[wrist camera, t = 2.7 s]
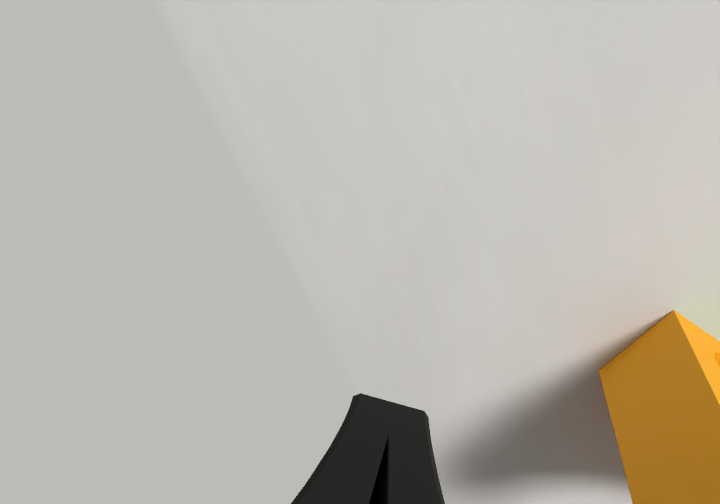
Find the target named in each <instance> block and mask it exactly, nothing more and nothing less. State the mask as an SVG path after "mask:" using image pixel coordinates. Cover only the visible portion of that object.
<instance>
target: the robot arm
mask: <svg viewBox="0 0 720 504" xmlns="http://www.w3.org/2000/svg"><path fill="white" fill-rule="evenodd" d="M291 504H445V502H444V499H443V495H442V491H441V487H440V483H439V478H438V474H437V469H436V464H435V460H434V454H433V449H432V443H431V437H430V429H429V420H428V416H427V415H426V413H425V412H424V411H422V410H418V409H415V408H411V407H407V406H404V405H400V404H397V403H393V402H389V401H386V400H382V399H379V398H375V397H371V396H368V395H364V394H361V393H360V394H358V395H355V396H353V399H352V402H351V405H350V408H349V411H348V413H347V415H346V417H345V420H344V422H343V424H342V426H341V428H340V430H339V432H338V433H337V435H336V437H335V439H334V440H333V442H332V444H331V446H330V447H329V449H328V451H327V452H326V454H325V455H324V457H323V459H322V460H321V461H320V463H319V465H318V466H317V468H316V469H315V471H314V472H313V474H312V475H311V477H310V478H309V480H308V481H307V483H306V484H305V486H304V487H303V489H302V490H301V491H300V492H299V494H298V495H297V496H296V498H295V499H294V500H293V502H292V503H291Z"/></svg>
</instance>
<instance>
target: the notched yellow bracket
mask: <svg viewBox="0 0 720 504" xmlns="http://www.w3.org/2000/svg"><path fill="white" fill-rule="evenodd" d="M599 374H600V378H601V382H602V386H603V390H604V393H605V397H606V401H607V405H608V409H609V413H610V417H611V420H612V424H613V428H614V432H615V436H616V440H617V444H618V447H619V451H620V455H621V459H622V463H623V467H624V471H625V475H626V478H627V482H628V486H629V490H630V494H631V498H632V502H633V504H720V342H719V341H718V340H716V339H715V338H713V337H712V336H710V335H709V334H708V333H706V332H705V331H703V330H702V329H700V328H699V327H697V326H696V325H695V324H693V323H692V322H690V321H689V320H687V319H686V318H684V317H683V316H682V315H680V314H679V313H677V312H676V311H674V310H673V311H672V312H671V313H669V314H668V315H667V316H666V317H664V318H663V319H662V320H661V321H659V322H658V323H657V324H656V325H654V326H653V327H652V328H651V329H650V330H648V331H647V332H646V333H645V334H643V335H642V336H641V337H640V338H638V339H637V340H636V341H635V342H633V343H632V344H631V345H630V346H629V347H627V348H626V349H625V350H624V351H622V352H621V353H620V354H619V355H617V356H616V357H615V358H614V359H612V360H611V361H610V362H609V363H608V364H606V365H605V366H604V367H603V368H601V369H600V370H599Z"/></svg>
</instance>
